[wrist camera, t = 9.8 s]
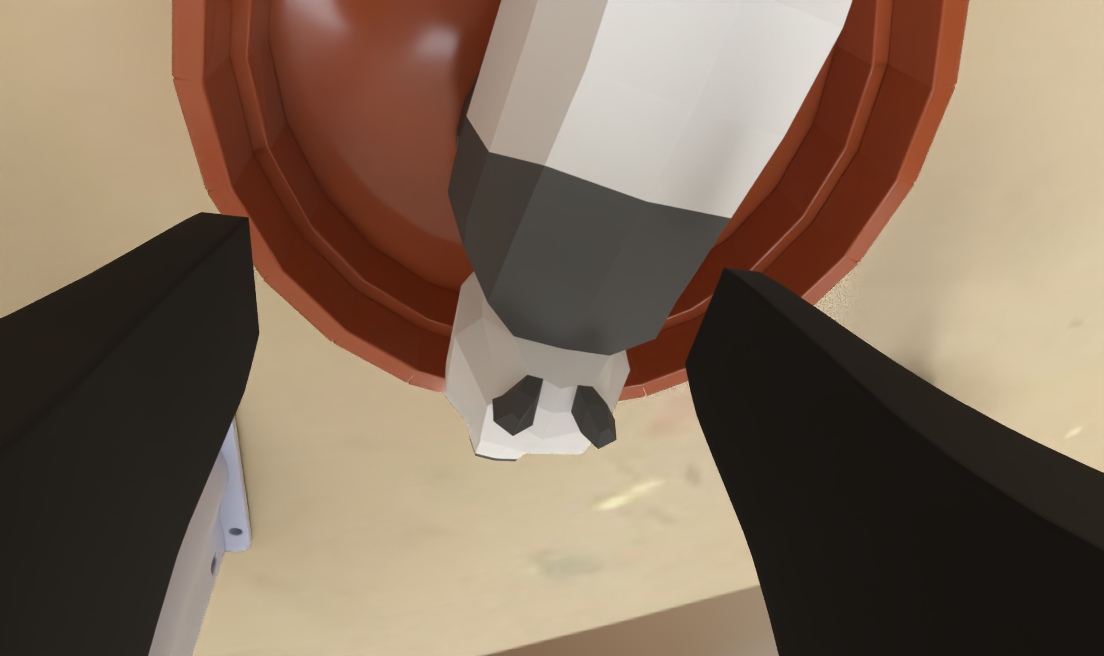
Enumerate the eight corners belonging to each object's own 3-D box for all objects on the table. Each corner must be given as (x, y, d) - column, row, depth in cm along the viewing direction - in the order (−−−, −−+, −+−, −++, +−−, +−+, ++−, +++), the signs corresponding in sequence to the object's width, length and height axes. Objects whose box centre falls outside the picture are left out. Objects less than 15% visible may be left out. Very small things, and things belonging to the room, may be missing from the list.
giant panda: (549, -277, 13) (671, -400, 6) (773, -165, 15) (1091, -152, 8) (403, 291, 21) (377, 542, 14) (559, 323, 23) (612, 565, 16)
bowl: (736, 337, 25) (783, 421, 22) (257, 299, 22) (219, 392, 18) (997, -241, 15) (1164, -260, 12) (181, -493, 12) (61, -633, 8)
